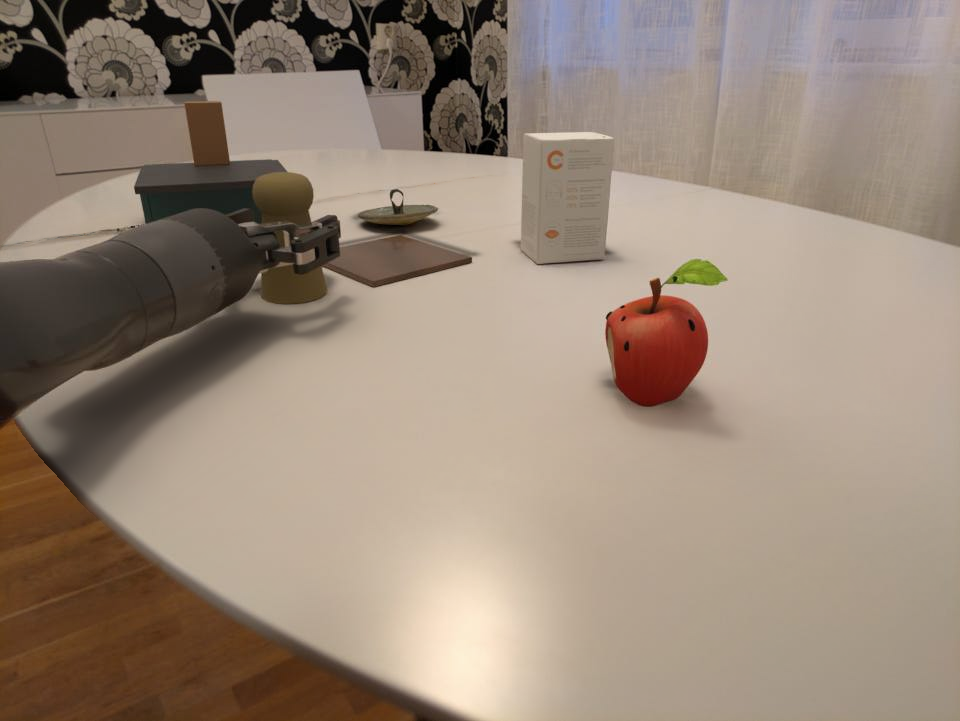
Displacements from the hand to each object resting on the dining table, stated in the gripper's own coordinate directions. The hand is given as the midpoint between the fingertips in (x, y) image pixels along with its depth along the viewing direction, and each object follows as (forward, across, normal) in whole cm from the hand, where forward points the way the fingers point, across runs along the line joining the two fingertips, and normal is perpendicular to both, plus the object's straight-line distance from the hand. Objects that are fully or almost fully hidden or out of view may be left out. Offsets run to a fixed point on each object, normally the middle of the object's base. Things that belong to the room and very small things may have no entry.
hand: (292, 222), depth 62 cm
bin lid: (+13, +17, -1) cm, 21 cm away
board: (+12, -4, +6) cm, 14 cm away
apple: (-14, -34, +7) cm, 37 cm away
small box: (+19, -22, +7) cm, 30 cm away
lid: (+28, +1, +7) cm, 29 cm away
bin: (+18, +21, +6) cm, 28 cm away
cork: (-1, 0, +7) cm, 7 cm away
